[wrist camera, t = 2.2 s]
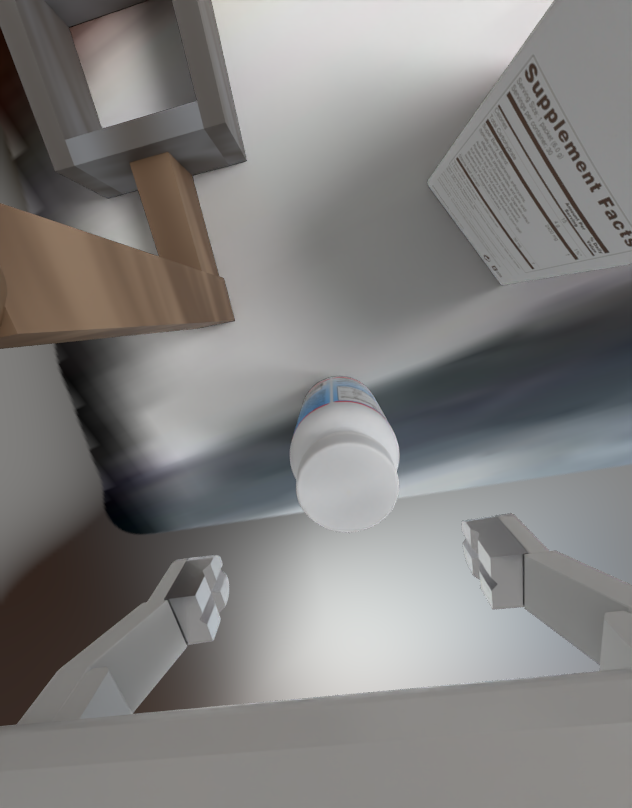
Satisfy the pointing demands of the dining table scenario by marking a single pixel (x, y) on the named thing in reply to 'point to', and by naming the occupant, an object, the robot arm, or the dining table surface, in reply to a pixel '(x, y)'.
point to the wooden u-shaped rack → (115, 188)
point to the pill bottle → (344, 457)
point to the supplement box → (551, 151)
